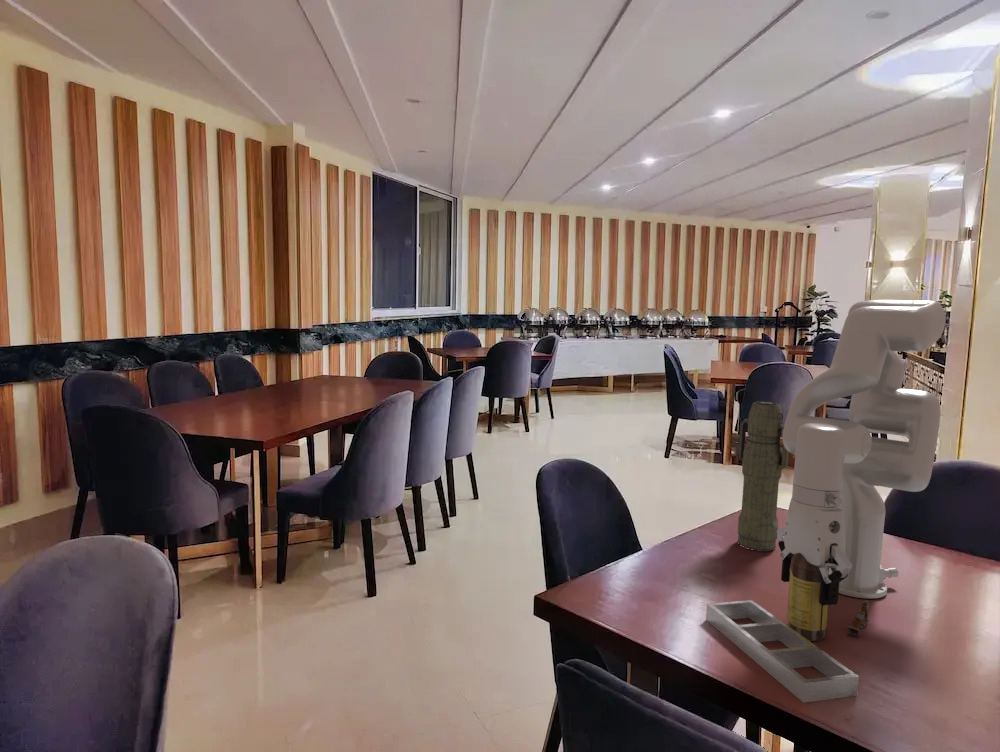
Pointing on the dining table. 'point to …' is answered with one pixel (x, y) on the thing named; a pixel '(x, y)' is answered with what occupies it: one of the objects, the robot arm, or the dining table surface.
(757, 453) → the thermos
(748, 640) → the rack with square compartments
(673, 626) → the dining table surface
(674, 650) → the dining table surface
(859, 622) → the wooden post with brackets
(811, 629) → the sauce bottle
